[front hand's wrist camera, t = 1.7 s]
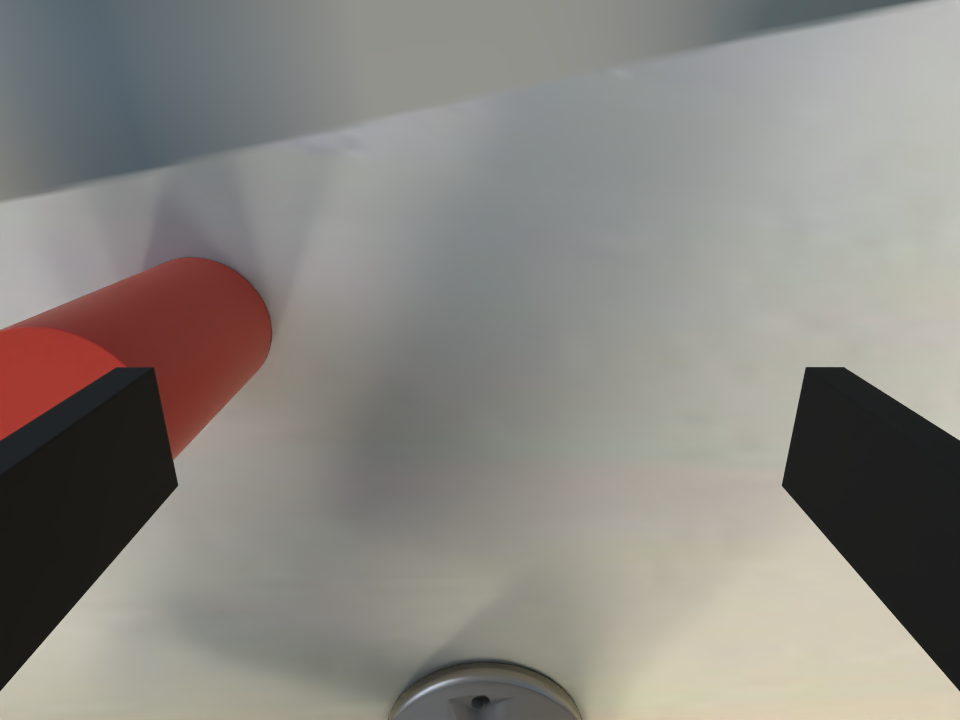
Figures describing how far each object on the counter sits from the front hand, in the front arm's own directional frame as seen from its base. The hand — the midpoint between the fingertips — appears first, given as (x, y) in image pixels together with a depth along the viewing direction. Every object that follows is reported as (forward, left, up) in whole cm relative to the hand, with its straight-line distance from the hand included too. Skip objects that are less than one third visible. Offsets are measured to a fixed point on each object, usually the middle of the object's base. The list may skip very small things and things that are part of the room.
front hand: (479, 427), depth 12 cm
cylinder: (-14, +9, -22) cm, 28 cm away
